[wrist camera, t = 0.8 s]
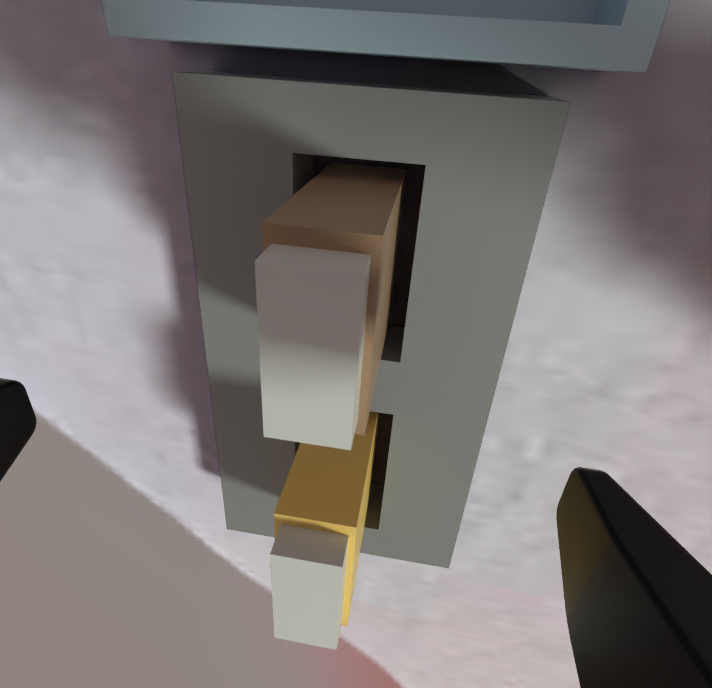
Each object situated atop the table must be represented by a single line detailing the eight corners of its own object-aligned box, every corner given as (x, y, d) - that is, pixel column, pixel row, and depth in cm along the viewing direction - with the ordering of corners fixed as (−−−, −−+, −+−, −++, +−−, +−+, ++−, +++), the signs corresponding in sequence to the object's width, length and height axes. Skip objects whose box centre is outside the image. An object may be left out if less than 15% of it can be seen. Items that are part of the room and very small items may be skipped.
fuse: (382, 384, 19) (350, 559, 12) (373, 473, 22) (342, 657, 15) (325, 376, 19) (262, 543, 13) (322, 464, 22) (269, 643, 15)
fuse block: (549, 96, 13) (570, 102, 11) (447, 520, 23) (448, 568, 20) (212, 71, 14) (171, 71, 12) (246, 487, 24) (226, 528, 21)
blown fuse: (406, 169, 15) (376, 253, 8) (391, 310, 18) (358, 465, 11) (332, 162, 15) (242, 238, 8) (327, 302, 18) (256, 448, 11)
